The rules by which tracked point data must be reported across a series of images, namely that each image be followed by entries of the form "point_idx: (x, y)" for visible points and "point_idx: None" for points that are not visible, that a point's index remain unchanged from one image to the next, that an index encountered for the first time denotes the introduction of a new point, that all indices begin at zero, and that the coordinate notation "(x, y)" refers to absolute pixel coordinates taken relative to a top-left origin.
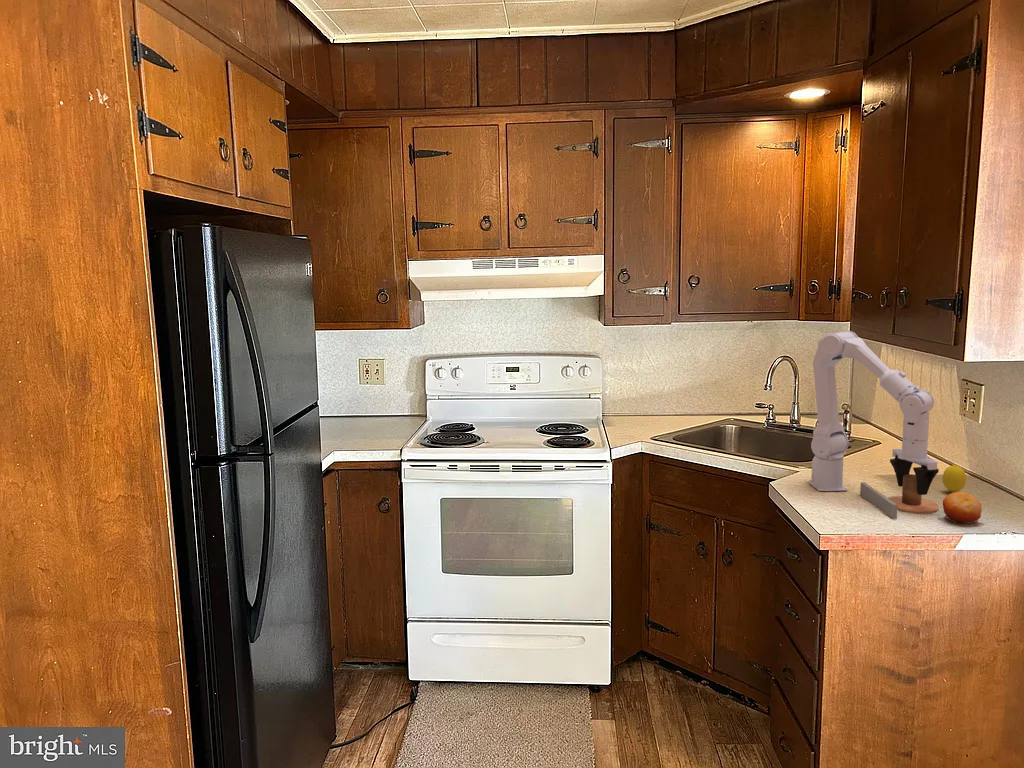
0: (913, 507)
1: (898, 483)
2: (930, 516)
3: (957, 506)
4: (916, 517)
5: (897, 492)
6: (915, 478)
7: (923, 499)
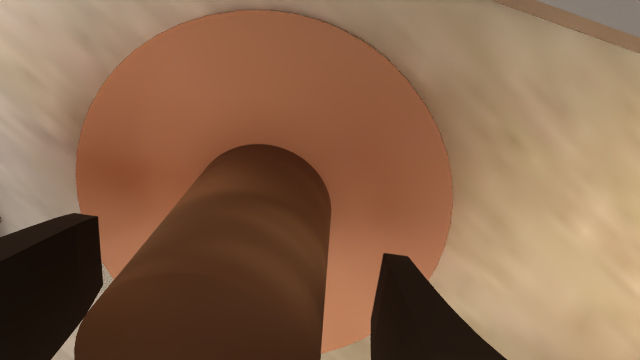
0: (153, 137)
1: (399, 262)
2: (19, 143)
3: None
4: (3, 25)
5: (566, 340)
6: (98, 342)
7: None
